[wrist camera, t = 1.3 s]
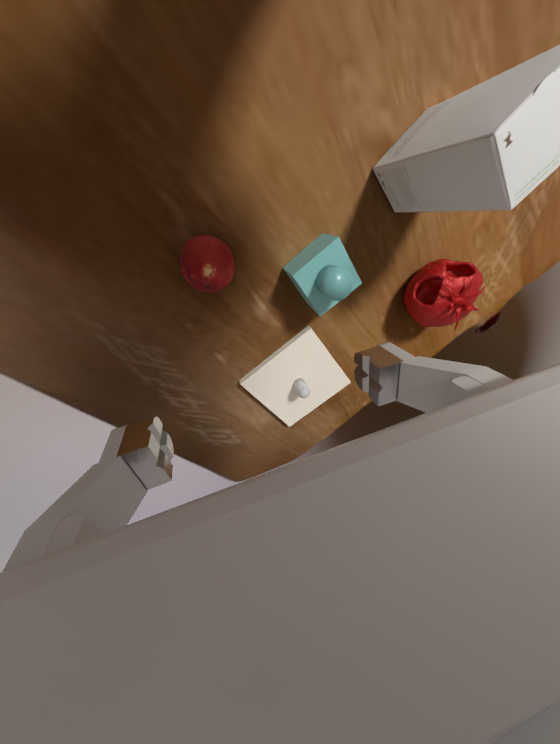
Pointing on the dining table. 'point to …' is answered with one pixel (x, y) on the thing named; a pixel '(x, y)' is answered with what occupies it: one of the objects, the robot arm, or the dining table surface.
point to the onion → (207, 263)
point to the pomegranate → (443, 292)
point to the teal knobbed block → (323, 273)
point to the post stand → (296, 377)
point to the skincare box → (480, 144)
